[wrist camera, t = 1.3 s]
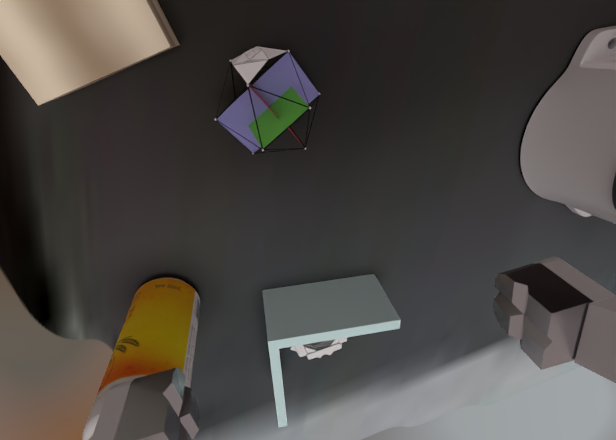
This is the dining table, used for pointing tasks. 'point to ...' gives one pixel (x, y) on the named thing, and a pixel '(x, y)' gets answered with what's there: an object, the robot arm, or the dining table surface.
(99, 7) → the oak base block
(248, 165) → the dining table surface
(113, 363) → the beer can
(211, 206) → the dining table surface
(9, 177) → the dining table surface
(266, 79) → the geometric puzzle
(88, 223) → the dining table surface
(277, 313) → the right angle wall
